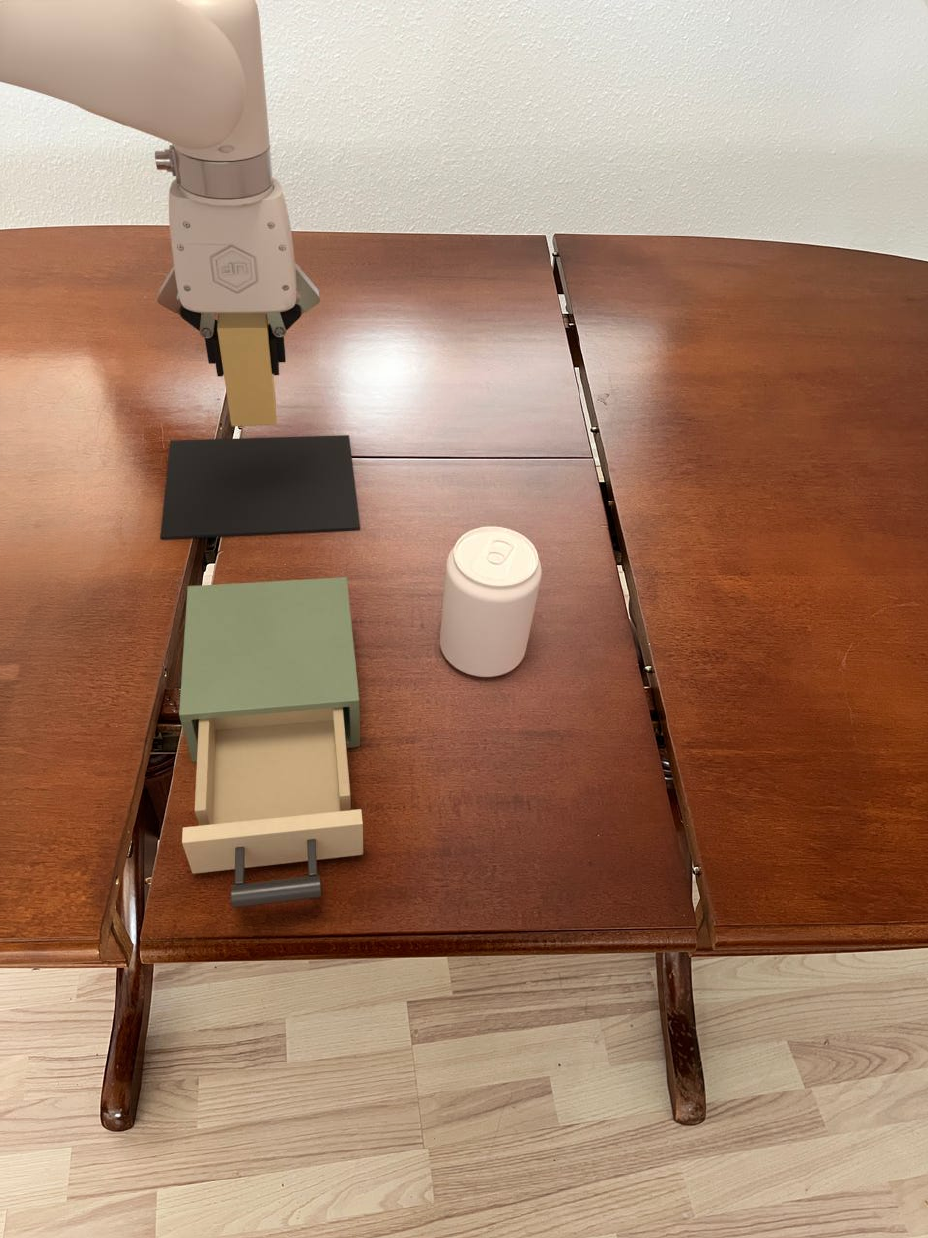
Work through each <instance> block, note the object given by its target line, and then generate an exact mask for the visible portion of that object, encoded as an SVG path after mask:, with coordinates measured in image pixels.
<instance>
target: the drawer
mask: <svg viewBox="0 0 928 1238" xmlns="http://www.w3.org/2000/svg"><path fill="white" fill-rule="evenodd" d="M347 752H348V751H347V748H346V738H345V727H344V715H343V707H339V708H327V709H315V710H303V711H291V712H279V713H267V714H254V715H242V716H230V717H218V718H206V719H199V729H198V750H197V762H196V770H195V771H196V773H195V794H194V815H195V817H196V820H197V824H198V825H193V826H184V827H182V833H181V844H182V847H183V850H184V852H185V853H184V854H185V856H186V859H187V861H188V864H189V866H190V867H189V868H190V870H191V873H192V875H194V874H203V873H212V872H220V871H231V870H234V884H232V885H231V886H230V904H231V905H230V906H231V909H237V908H245V907H246V908H247V907H254V906H262V905H263V906H264V905H271V904H279V903H287V902H295V901H296V902H297V901H304V900H312V899H321V898H322V897H323V896H322V893H323V892H322V880H321V879H322V878H321V877H322V876H321V874H318V860H327V859H337V858H345V857H355V856H363V855H364V822H363V810H362V809H361V808H359V809H352V806H351V805H352V804H351V802H352V801H351V787H350V776H349V763H348V762H349V761H348V753H347ZM298 862H299V863H303V862H307V869H308V870H307V871H308V875H307V876H299V877H291V878H282V879H274V880H265V881H255V882H248V883H245V869H247V868H256V867H265V866H274V865H282V864H283V865H284V864H293V863H298Z"/></svg>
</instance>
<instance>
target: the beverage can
mask: <svg viewBox="0 0 928 1238" xmlns="http://www.w3.org/2000/svg"><path fill="white" fill-rule="evenodd" d="M542 568H543V567H542V563H541V561H540V558H539V554H538V551H537V549H536V547H535V545H534V544H533V542H531V540H530V539H528V538H527V536H525V535H523V534H521V533H520V532H518V531H516V530H513V529H510V528H508V527H507V528H506V527H503V526H492V525H491V526H481V527H477V528H474V529H471V530H469V531H467V532H465V533H464V534H462V535H461V536H460V537H459V539H458V540H457V541H456V543H455V545H454V546H453V547H452V549H451V550H450V551H449V554H448V556H447V559H446V566H445V576H444V586H443V588H444V589H443V597H442V598H443V599H442V610H441V619H440V631H439V632H440V633H439V647H440V650H441V653H442V654H443V656H444V658H445V659H446V660H447V661H448V663H449V664H450V665H451V666H453V667H454V668H455V669H457V670H459V671H460V672H462V673H465V674H467V675H471V676H473V677H480V678H492V677H493V678H494V677H499V676H502V675H505V674H507V673H509V672H511V671H513V670H514V669H515V668H517V667H518V666H519V665H520V663H521V662H522V661H523V659H524V657H525V655H526V650H527V646H528V644H529V643H528V642H529V637H530V633H531V628H532V623H533V618H534V614H535V609H536V604H537V599H538V595H539V589H540V586H541V581H542V575H543V571H542Z"/></svg>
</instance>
